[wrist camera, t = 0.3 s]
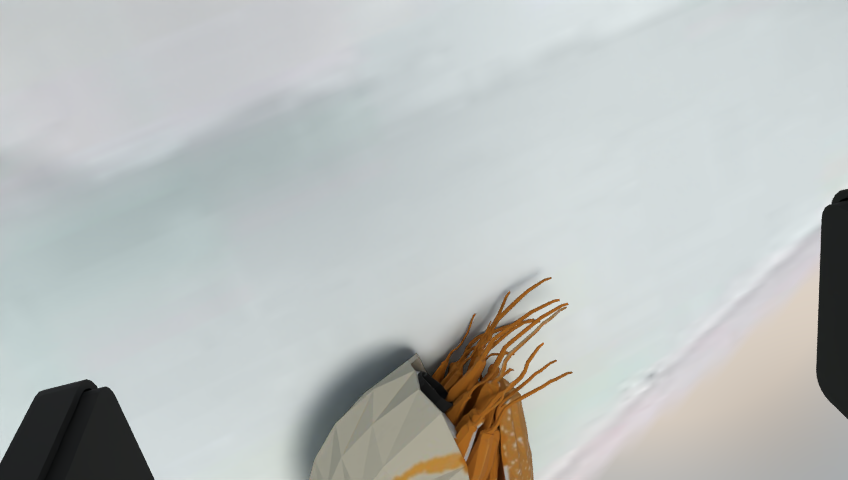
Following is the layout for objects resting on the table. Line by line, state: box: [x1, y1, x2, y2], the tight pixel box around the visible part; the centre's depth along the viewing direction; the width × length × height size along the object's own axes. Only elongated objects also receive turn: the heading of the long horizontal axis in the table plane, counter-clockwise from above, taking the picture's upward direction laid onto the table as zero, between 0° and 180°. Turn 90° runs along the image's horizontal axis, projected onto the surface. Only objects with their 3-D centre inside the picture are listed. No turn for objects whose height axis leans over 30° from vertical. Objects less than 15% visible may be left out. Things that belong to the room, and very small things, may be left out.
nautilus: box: [309, 277, 573, 480], centre depth 44 cm, size 8×22×15 cm
